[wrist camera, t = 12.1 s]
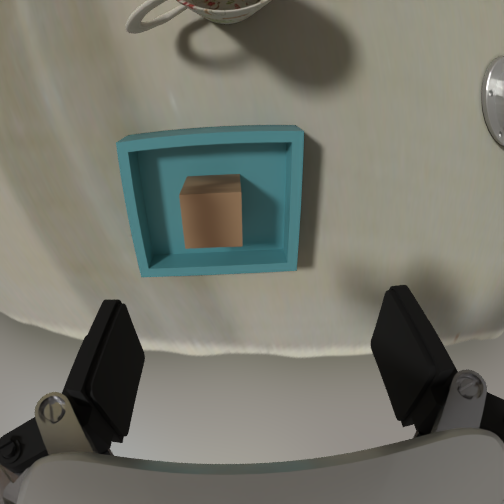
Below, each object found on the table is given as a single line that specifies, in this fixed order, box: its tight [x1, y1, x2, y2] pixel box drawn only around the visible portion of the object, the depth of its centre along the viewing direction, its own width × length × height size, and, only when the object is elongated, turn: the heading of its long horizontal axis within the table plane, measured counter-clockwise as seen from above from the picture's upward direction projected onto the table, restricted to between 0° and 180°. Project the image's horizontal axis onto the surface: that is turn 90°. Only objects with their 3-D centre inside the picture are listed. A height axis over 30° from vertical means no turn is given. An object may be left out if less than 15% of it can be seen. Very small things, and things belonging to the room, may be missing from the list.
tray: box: [116, 125, 304, 277], centre depth 29 cm, size 16×14×4 cm
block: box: [179, 174, 243, 249], centre depth 28 cm, size 5×5×5 cm
